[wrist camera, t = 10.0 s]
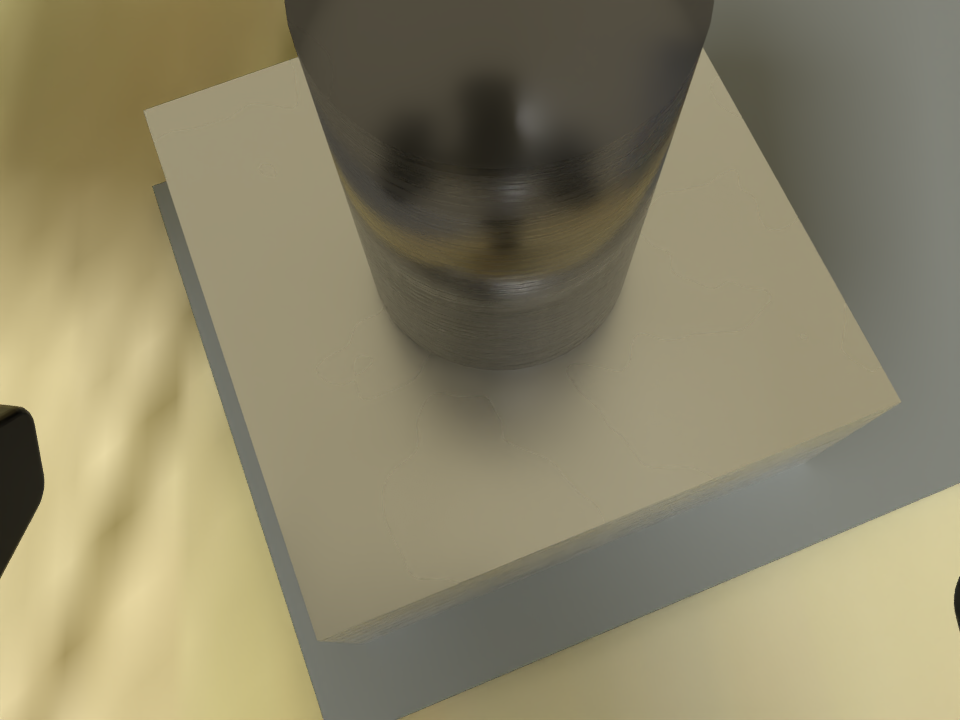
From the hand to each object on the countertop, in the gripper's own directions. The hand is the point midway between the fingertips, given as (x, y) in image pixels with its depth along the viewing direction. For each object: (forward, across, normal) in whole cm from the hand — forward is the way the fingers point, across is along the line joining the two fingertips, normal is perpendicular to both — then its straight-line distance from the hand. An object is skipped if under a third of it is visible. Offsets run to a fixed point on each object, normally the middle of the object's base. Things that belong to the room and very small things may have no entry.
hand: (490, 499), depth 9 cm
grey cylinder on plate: (+10, 0, +3) cm, 10 cm away
